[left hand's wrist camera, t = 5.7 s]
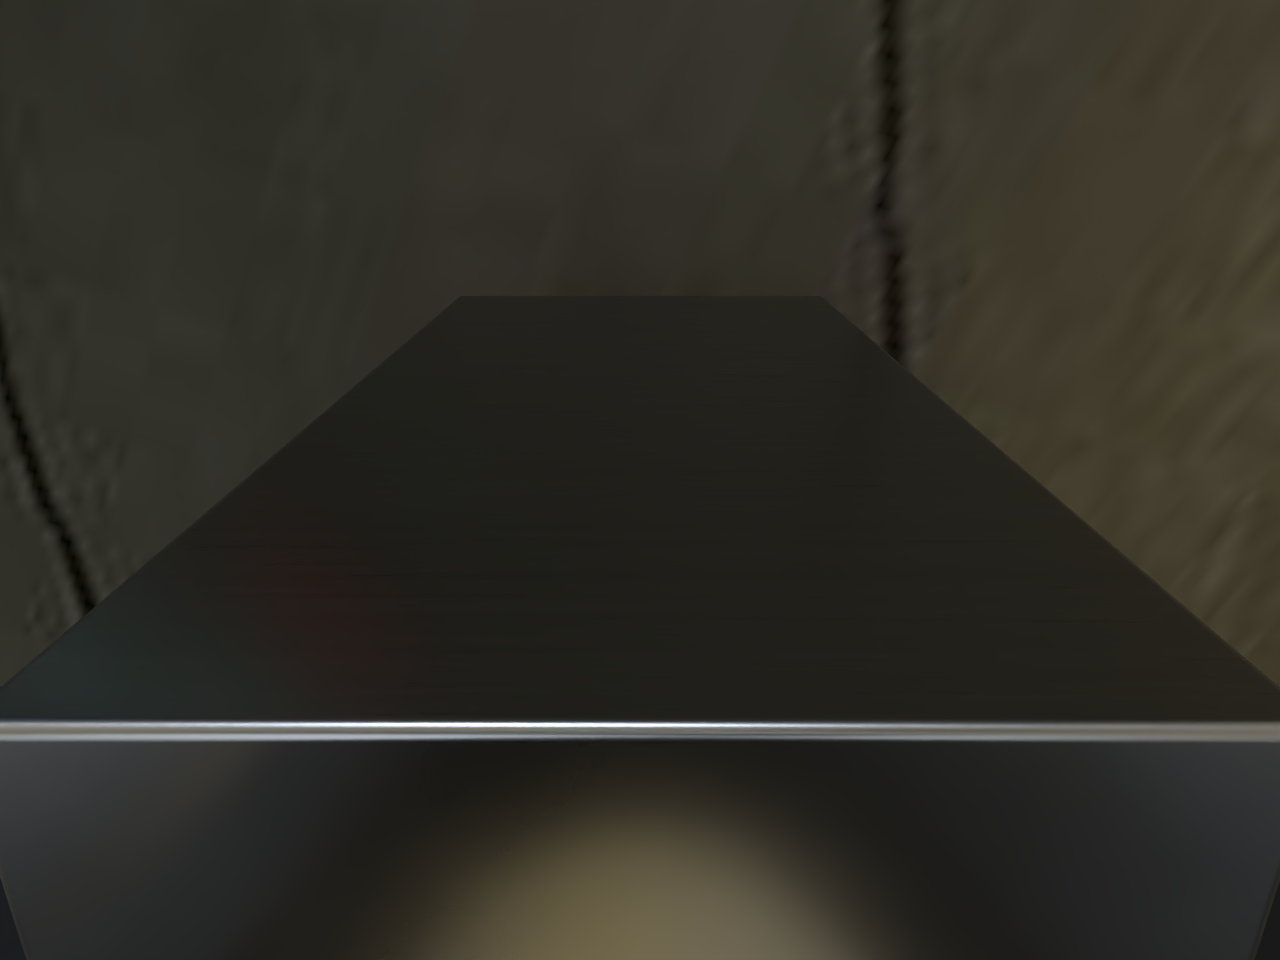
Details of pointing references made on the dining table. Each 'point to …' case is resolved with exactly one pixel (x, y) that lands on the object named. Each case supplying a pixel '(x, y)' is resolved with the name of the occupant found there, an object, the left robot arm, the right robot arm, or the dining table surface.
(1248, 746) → the box
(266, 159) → the dining table surface
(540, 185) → the dining table surface
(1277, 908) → the left robot arm
